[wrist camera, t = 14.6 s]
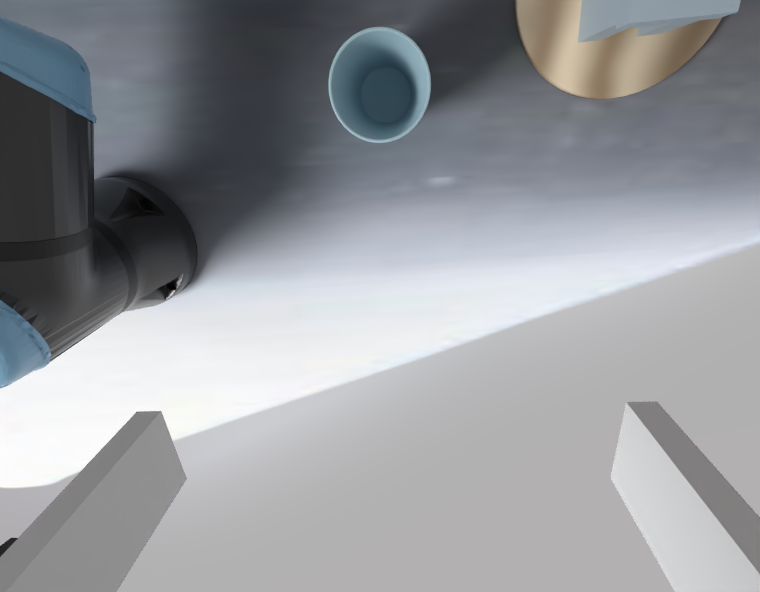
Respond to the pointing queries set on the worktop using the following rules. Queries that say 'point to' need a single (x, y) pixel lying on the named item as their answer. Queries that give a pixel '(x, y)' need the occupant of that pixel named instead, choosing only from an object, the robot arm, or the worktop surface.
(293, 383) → the worktop surface
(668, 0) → the grey slotted block
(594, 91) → the wooden disc
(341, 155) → the worktop surface
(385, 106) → the cup
